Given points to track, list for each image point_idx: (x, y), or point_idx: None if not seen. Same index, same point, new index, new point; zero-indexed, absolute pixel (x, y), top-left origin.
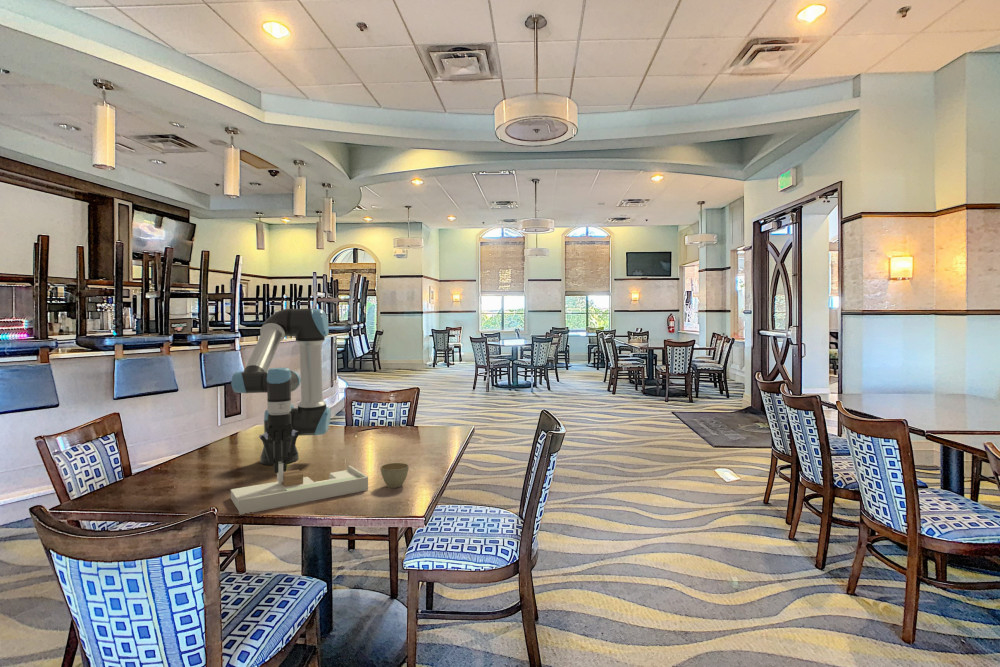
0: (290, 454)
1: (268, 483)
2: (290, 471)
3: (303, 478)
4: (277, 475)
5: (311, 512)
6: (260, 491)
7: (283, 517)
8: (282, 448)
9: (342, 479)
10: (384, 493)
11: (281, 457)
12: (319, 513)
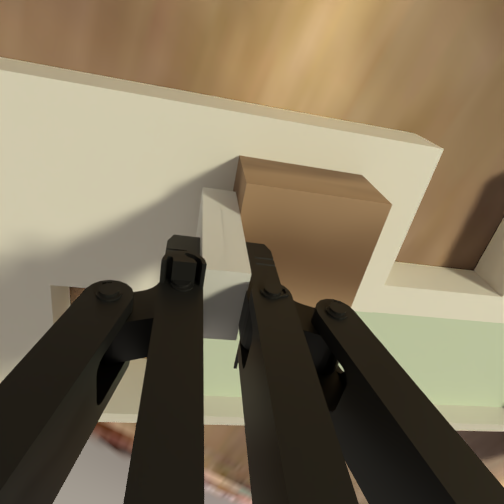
0: (328, 405)
1: (156, 111)
2: (320, 210)
3: (397, 175)
4: (200, 223)
5: (211, 456)
6: (61, 258)
7: (116, 450)
8: (254, 483)
9: (494, 333)
10: (484, 434)
11: (252, 320)
12: (227, 471)
